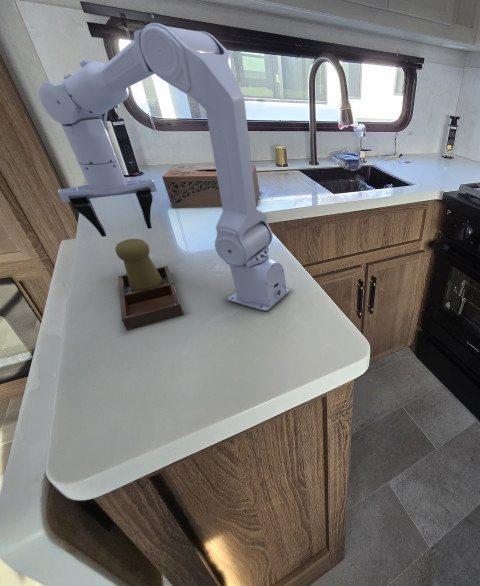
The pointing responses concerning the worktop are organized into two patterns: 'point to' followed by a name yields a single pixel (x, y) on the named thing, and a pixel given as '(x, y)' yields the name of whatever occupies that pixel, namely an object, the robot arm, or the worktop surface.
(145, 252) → the cork
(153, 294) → the caddy
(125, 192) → the robot arm
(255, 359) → the worktop surface
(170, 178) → the tissue box cover
